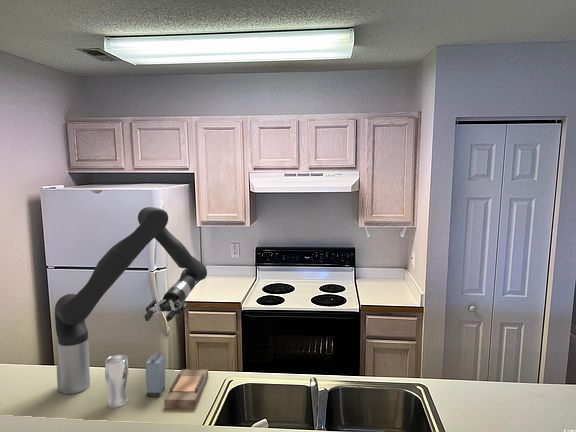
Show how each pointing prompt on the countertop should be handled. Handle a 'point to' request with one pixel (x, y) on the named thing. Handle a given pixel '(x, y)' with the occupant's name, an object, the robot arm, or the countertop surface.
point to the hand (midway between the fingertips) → (156, 319)
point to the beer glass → (116, 380)
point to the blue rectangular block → (155, 375)
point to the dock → (186, 389)
